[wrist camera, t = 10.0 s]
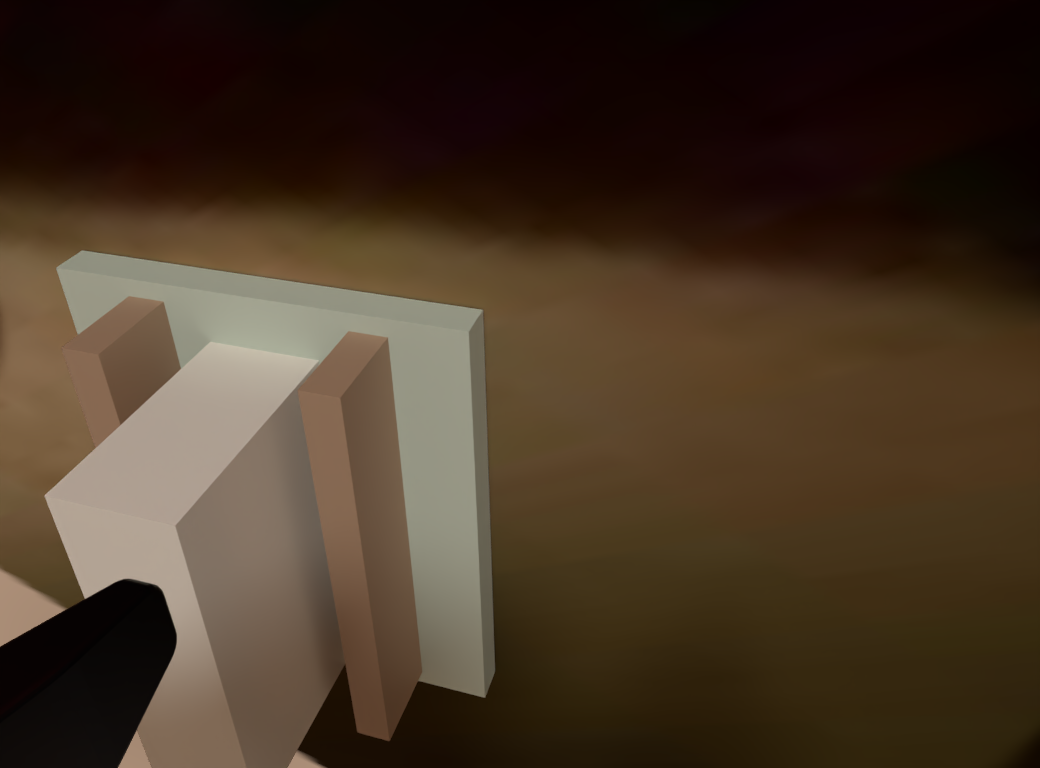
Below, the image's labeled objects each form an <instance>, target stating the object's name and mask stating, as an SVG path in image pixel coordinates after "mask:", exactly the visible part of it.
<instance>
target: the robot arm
mask: <svg viewBox="0 0 1040 768" xmlns="http://www.w3.org/2000/svg"><path fill="white" fill-rule="evenodd" d="M176 644H177V633H176V629H175V626H174V623H173V620H172V617H171V614H170V611H169V608H168V605H167V601H166V598H165V595H164V593H163V591H162V589H161V588H160V587H159V586H157V585H155V584H151V583H147V582H143V581H139V580H135V579H122V580H119V581H117V582H114V583H113V584H111V585H109V586H107V587H105V588H104V589H102V590H100V591H98V592H97V593H95V594H93V595H91V596H89V597H88V598H86V599H84V600H82V601H81V602H79V603H77V604H75V605H73V606H72V607H70V608H68V609H66V610H65V611H63V612H61V613H59V614H57V615H56V616H54V617H52V618H50V619H49V620H47V621H45V622H43V623H41V624H40V625H38V626H36V627H34V628H33V629H31V630H29V631H27V632H26V633H24V634H22V635H20V636H18V637H17V638H15V639H13V640H11V641H9V642H8V643H6V644H4V645H2V646H1V647H0V768H118V766H119V764H120V763H121V761H122V759H123V756H124V755H125V753H126V751H127V749H128V747H129V745H130V742H131V741H132V738H133V736H134V734H135V732H136V730H137V728H138V726H139V724H140V722H141V720H142V718H143V716H144V714H145V712H146V710H147V708H148V706H149V704H150V702H151V700H152V698H153V696H154V694H155V692H156V690H157V688H158V686H159V684H160V682H161V680H162V678H163V676H164V674H165V672H166V670H167V668H168V666H169V664H170V662H171V660H172V657H173V655H174V652H175V649H176Z"/></svg>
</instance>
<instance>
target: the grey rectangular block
mask: <svg viewBox="0 0 1040 768" xmlns="http://www.w3.org/2000/svg"><path fill="white" fill-rule="evenodd" d="M319 365H320V363H319V360H314V359H308V358H302V357H296V356H290V355H285V354H279V353H273V352H267V351H261V350H256V349H250V348H244V347H238V346H232V345H227V344H221V343H215V342H210V343H209V344H208V345H206V346H205V347H204V348H203V349H202V350H201V351H200V352H199V353H198V354H197V355H196V356H195V357H194V358H192V359H191V360H190V361H189V362H188V363H187V364H186V365H185V366H184V367H183V368H182V369H181V370H180V371H178V372H177V373H176V374H175V375H174V376H173V377H172V378H171V379H170V380H169V381H168V382H167V383H166V384H164V385H163V386H162V387H161V388H160V389H159V390H158V391H157V392H156V393H155V394H154V395H153V396H151V397H150V398H149V399H148V400H147V401H146V402H145V403H144V404H143V405H142V406H141V407H140V408H139V409H137V410H136V411H135V412H134V413H133V414H132V415H131V416H130V417H129V418H128V419H127V420H126V421H125V422H123V423H122V424H121V425H120V426H119V427H118V428H117V429H116V430H115V431H114V432H113V433H112V434H111V435H109V436H108V437H107V438H106V439H105V440H104V441H103V442H102V443H101V444H100V445H99V446H98V447H97V448H95V449H94V450H93V451H92V452H91V453H90V454H89V455H88V456H87V457H86V458H85V459H84V460H82V461H81V462H80V463H79V464H78V465H77V466H76V467H75V468H74V469H73V470H72V471H71V472H70V473H68V474H67V475H66V476H65V477H64V478H63V479H62V480H61V481H60V482H59V483H58V484H57V485H56V486H54V487H53V488H52V489H51V490H50V491H49V492H48V493H47V494H46V495H45V498H46V501H47V504H48V506H49V509H50V511H51V514H52V516H53V519H54V521H55V524H56V526H57V529H58V531H59V534H60V536H61V539H62V542H63V544H64V547H65V549H66V552H67V554H68V557H69V559H70V562H71V564H72V567H73V569H74V572H75V575H76V577H77V580H78V582H79V585H80V587H81V590H82V592H83V595H84V597H85V599H86V598H88V597H89V596H91V595H93V594H95V593H97V592H98V591H100V590H102V589H104V588H105V587H107V586H109V585H111V584H113V583H114V582H117V581H119V580H122V579H135V580H139V581H143V582H147V583H151V584H155V585H157V586H159V587H160V588H161V589H162V591H163V593H164V595H165V598H166V601H167V605H168V608H169V611H170V614H171V617H172V620H173V623H174V626H175V629H176V633H177V644H176V649H175V652H174V655H173V657H172V660H171V662H170V664H169V666H168V668H167V670H166V672H165V674H164V676H163V678H162V680H161V682H160V684H159V686H158V688H157V690H156V692H155V694H154V696H153V698H152V700H151V702H150V704H149V706H148V708H147V710H146V712H145V714H144V716H143V718H142V720H141V722H140V724H139V726H138V728H137V731H138V734H139V737H140V739H141V742H142V744H143V747H144V749H145V752H146V754H147V757H148V760H149V762H150V765H151V767H152V768H287V767H288V766H289V764H290V762H291V760H292V758H293V757H294V755H295V753H296V751H297V749H298V748H299V746H300V744H301V742H302V740H303V739H304V737H305V735H306V733H307V731H308V730H309V728H310V726H311V724H312V722H313V721H314V719H315V717H316V715H317V713H318V712H319V710H320V708H321V706H322V704H323V703H324V701H325V699H326V697H327V695H328V694H329V692H330V690H331V688H332V687H333V685H334V683H335V681H336V679H337V678H338V676H339V674H340V672H341V670H342V669H343V667H344V665H345V659H344V653H343V647H342V642H341V636H340V630H339V624H338V619H337V613H336V607H335V602H334V596H333V590H332V585H331V579H330V573H329V567H328V562H327V556H326V550H325V545H324V539H323V533H322V527H321V522H320V516H319V510H318V505H317V499H316V493H315V487H314V482H313V476H312V470H311V465H310V459H309V453H308V448H307V442H306V436H305V430H304V425H303V419H302V413H301V408H300V402H299V396H298V389H299V388H300V387H301V385H302V384H303V383H304V382H305V381H306V380H307V379H308V377H309V376H310V375H311V374H312V373H313V372H314V370H315V369H316V368H317V367H318V366H319Z"/></svg>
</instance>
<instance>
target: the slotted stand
mask: <svg viewBox="0 0 1040 768" xmlns="http://www.w3.org/2000/svg"><path fill="white" fill-rule="evenodd" d="M56 269H57V272H58V275H59V278H60V281H61V284H62V287H63V290H64V293H65V296H66V300H67V303H68V306H69V309H70V312H71V315H72V318H73V321H74V324H75V327H76V330H77V333H78V335H77V336H76V337H75V338H73V339H72V340H71V341H69V342H68V343H67V344H65V345H64V346H63V347H61V349H62V352H63V355H64V358H65V361H66V364H67V367H68V369H69V372H70V375H71V378H72V381H73V384H74V387H75V390H76V393H77V396H78V399H79V402H80V405H81V407H82V410H83V413H84V416H85V419H86V422H87V425H88V428H89V431H90V434H91V437H92V440H93V442H94V445H95V448H97V447H98V446H99V445H100V444H101V443H102V442H103V441H104V440H105V439H106V438H107V437H108V436H109V435H111V434H112V433H113V432H114V431H115V430H116V429H117V428H118V427H119V426H120V425H121V424H122V423H123V422H125V421H126V420H127V419H128V418H129V417H130V416H131V415H132V414H133V413H134V412H135V411H136V410H137V409H139V408H140V407H141V406H142V405H143V404H144V403H145V402H146V401H147V400H148V399H149V398H150V397H151V396H153V395H154V394H155V393H156V392H157V391H158V390H159V389H160V388H161V387H162V386H163V385H164V384H166V383H167V382H168V381H169V380H170V379H171V378H172V377H173V376H174V375H175V374H176V373H177V372H178V371H180V370H181V369H182V368H183V367H184V366H185V365H186V364H187V363H188V362H189V361H190V360H191V359H192V358H194V357H195V356H196V355H197V354H198V353H199V352H200V351H201V350H202V349H203V348H204V347H205V346H206V345H208V344H209V343H210V342H215V343H221V344H227V345H232V346H238V347H244V348H250V349H256V350H261V351H267V352H273V353H279V354H285V355H290V356H296V357H302V358H308V359H314V360H319V363H320V365H319V366H318V367H317V368H316V369H315V370H314V372H313V373H312V374H311V375H310V376H309V377H308V379H307V380H306V381H305V382H304V383H303V384H302V385H301V387H300V388H299V389H298V396H299V402H300V408H301V413H302V419H303V425H304V430H305V436H306V442H307V448H308V453H309V459H310V465H311V470H312V476H313V482H314V487H315V493H316V499H317V505H318V510H319V516H320V522H321V527H322V533H323V539H324V545H325V550H326V556H327V562H328V567H329V573H330V579H331V585H332V590H333V596H334V602H335V607H336V613H337V619H338V624H339V630H340V636H341V642H342V647H343V653H344V659H345V664H346V670H347V676H348V682H349V687H350V693H351V699H352V704H353V710H354V716H355V722H356V727H357V733H361V734H365V735H368V736H372V737H376V738H379V739H383V740H387V741H390V739H391V737H392V735H393V733H394V731H395V729H396V727H397V725H398V722H399V720H400V718H401V716H402V714H403V712H404V710H405V708H406V705H407V703H408V701H409V699H410V697H411V695H412V693H413V690H414V688H415V686H416V684H417V682H418V681H421V682H425V683H429V684H433V685H437V686H441V687H445V688H449V689H452V690H456V691H460V692H464V693H468V694H472V695H476V696H480V697H484V698H485V696H486V694H487V691H488V689H489V686H490V684H491V681H492V678H493V676H494V673H495V652H494V622H493V592H492V562H491V532H490V502H489V472H488V442H487V412H486V382H485V352H484V322H483V310H480V309H474V308H467V307H460V306H453V305H447V304H440V303H433V302H426V301H420V300H413V299H406V298H399V297H393V296H386V295H379V294H372V293H366V292H359V291H352V290H345V289H339V288H332V287H325V286H318V285H312V284H305V283H298V282H291V281H285V280H278V279H271V278H264V277H258V276H251V275H244V274H237V273H231V272H224V271H217V270H210V269H204V268H197V267H190V266H183V265H177V264H170V263H163V262H156V261H150V260H143V259H136V258H129V257H123V256H116V255H109V254H103V253H96V252H89V251H81V252H79V253H78V254H76V255H75V256H73V257H72V258H70V259H69V260H67V261H66V262H64V263H63V264H61V265H60V266H58V267H56Z"/></svg>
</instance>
